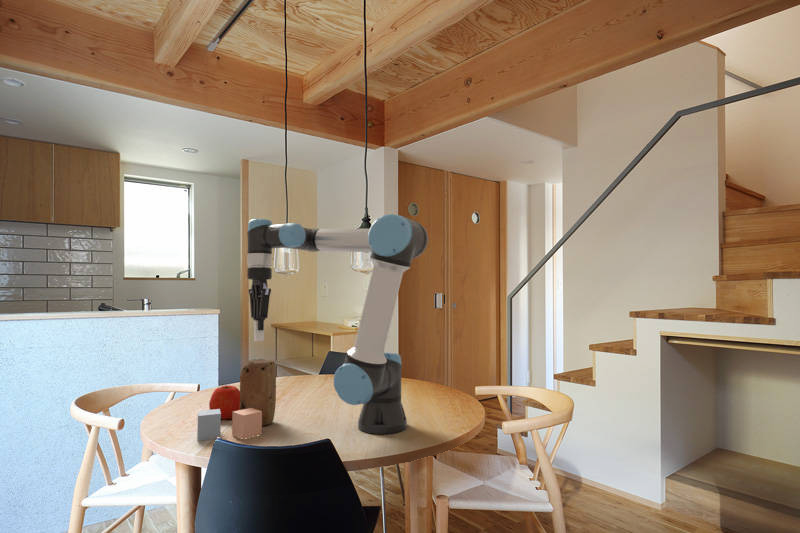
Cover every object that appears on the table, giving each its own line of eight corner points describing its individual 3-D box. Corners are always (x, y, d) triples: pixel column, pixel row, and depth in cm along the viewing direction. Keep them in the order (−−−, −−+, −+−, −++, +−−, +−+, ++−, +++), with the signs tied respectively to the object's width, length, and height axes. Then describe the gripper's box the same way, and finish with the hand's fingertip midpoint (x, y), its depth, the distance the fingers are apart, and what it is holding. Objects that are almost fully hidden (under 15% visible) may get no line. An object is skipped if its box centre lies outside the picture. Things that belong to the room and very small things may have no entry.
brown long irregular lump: (277, 420, 152) (278, 358, 153) (270, 427, 145) (271, 362, 146) (244, 420, 153) (245, 358, 154) (235, 426, 145) (236, 361, 146)
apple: (209, 414, 160) (209, 383, 160) (242, 411, 163) (243, 380, 164) (208, 423, 150) (209, 389, 150) (243, 419, 153) (244, 386, 154)
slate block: (220, 438, 134) (220, 413, 134) (197, 441, 132) (198, 415, 132) (219, 432, 140) (219, 408, 140) (197, 435, 137) (197, 410, 137)
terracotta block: (261, 435, 137) (261, 411, 137) (242, 440, 132) (243, 415, 133) (250, 431, 141) (250, 407, 141) (232, 436, 136) (232, 411, 137)
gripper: (279, 266, 149) (278, 341, 147) (262, 268, 159) (262, 338, 157) (256, 265, 144) (255, 343, 143) (240, 267, 154) (240, 339, 153)
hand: (259, 340), depth 150 cm, fingers closed
